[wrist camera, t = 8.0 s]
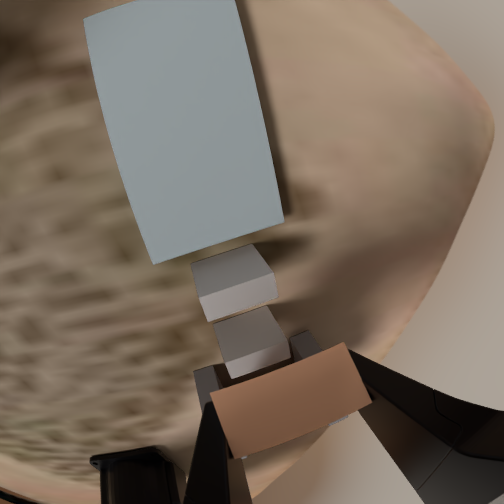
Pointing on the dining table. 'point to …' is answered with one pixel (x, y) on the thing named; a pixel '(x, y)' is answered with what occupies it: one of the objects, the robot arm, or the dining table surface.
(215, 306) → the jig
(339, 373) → the bar
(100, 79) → the mat
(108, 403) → the dining table surface
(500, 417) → the robot arm
